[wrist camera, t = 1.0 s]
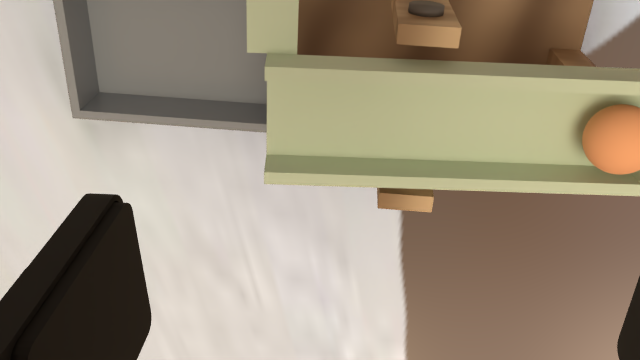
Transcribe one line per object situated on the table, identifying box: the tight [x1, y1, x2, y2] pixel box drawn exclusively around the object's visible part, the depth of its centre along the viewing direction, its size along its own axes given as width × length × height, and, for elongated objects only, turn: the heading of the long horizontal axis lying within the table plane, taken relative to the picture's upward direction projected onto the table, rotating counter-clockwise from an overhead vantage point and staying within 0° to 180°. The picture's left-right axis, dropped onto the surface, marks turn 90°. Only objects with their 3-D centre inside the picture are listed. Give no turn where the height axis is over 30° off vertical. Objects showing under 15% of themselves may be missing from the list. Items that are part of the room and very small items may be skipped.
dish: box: [53, 0, 267, 132], centre depth 41 cm, size 10×14×4 cm
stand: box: [297, 0, 596, 212], centre depth 37 cm, size 20×11×12 cm, turn 87°
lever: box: [246, 0, 640, 196], centre depth 30 cm, size 22×16×4 cm
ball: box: [582, 104, 640, 175], centre depth 31 cm, size 4×4×4 cm
